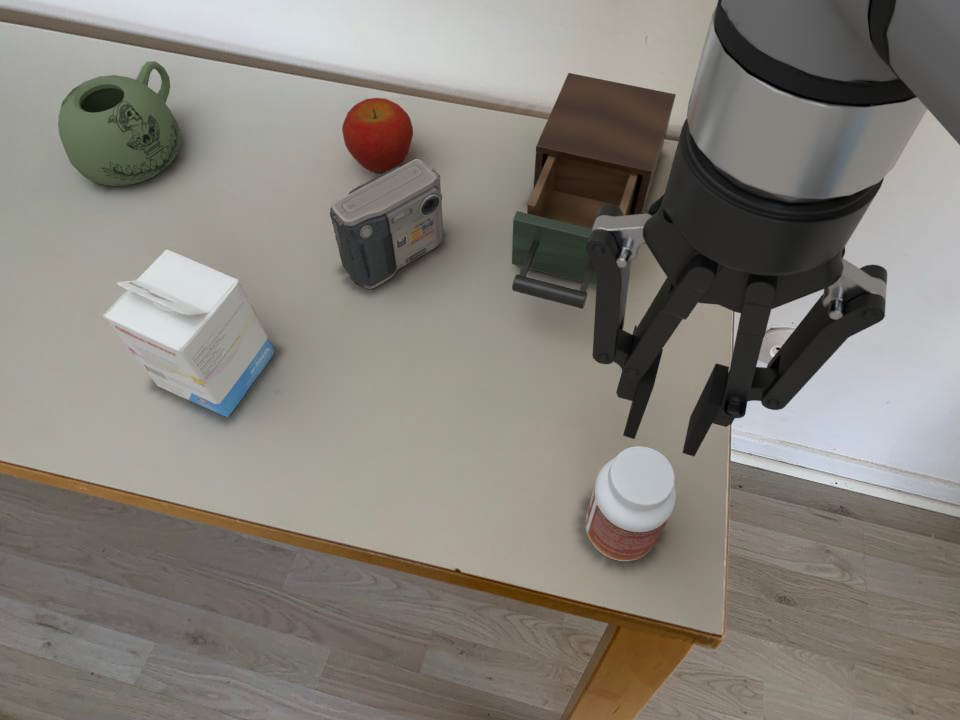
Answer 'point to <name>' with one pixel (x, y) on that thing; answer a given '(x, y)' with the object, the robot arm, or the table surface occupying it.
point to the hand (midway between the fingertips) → (662, 427)
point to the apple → (378, 134)
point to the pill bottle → (631, 503)
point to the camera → (388, 222)
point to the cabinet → (608, 129)
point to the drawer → (565, 225)
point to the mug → (119, 128)
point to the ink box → (192, 331)
